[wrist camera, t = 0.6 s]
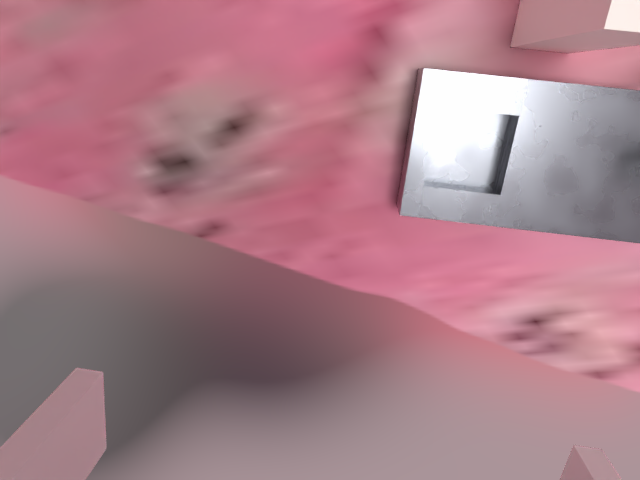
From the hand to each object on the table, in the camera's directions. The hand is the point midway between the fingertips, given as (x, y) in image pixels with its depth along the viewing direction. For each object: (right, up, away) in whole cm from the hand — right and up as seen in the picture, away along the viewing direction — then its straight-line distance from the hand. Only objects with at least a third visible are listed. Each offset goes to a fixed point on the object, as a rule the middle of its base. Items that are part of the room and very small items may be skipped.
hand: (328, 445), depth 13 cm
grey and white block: (+19, +12, +21) cm, 31 cm away
